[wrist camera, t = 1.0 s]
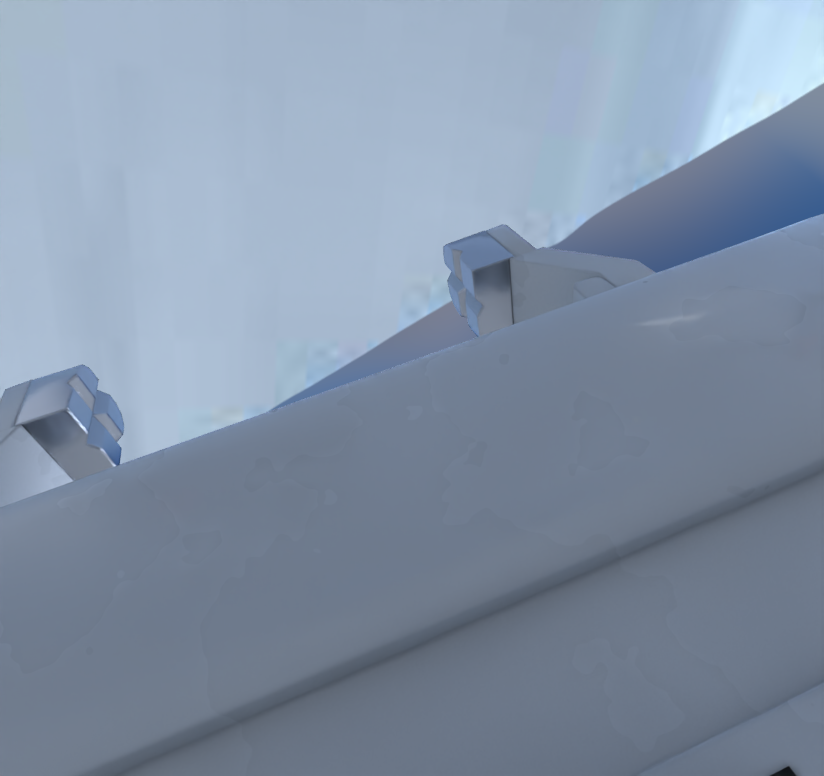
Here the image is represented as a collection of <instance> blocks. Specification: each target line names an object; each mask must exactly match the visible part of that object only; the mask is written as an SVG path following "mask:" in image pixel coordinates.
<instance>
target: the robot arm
mask: <svg viewBox="0 0 824 776" xmlns="http://www.w3.org/2000/svg"><path fill="white" fill-rule="evenodd" d="M443 255H444V262H445V264H446V266H447V267H448V268H449V269H450V270H451V274H450V276H449V278H448V280H447V281H448V287H449V292H450V295H451V298H452V301H453V304H454V306H455V308H456V310H457V311H458V313H459V314H460V315H461V316H462V317H466V318H468V325H469V327H470V328H471V329H472V331H473V332H474V333H475V334H476V335H477V338H474V339H471V340H468V341H465V342H463V343H460V344H457V345H454V346H452V347H449V348H446V349H443V350H440V351H437V352H435V353H432V354H429V355H426V356H423V357H421V358H418V359H415V360H412V361H409V362H407V363H404V364H401V365H398V366H396V367H393V368H390V369H387V370H385V371H382V372H379V373H376V374H373V375H370V376H368V377H365V378H362V379H360V380H357V381H354V382H351V383H348V384H345V385H342V386H339V387H337V388H334V389H332V390H328V391H325V392H323V393H320V394H317V395H314V396H311V397H309V398H306V399H303V400H300V401H297V402H294V403H292V404H289V405H286V406H283V407H280V408H278V409H275V410H272V411H269V412H266V413H264V414H261V415H258V416H255V417H252V418H250V419H247V420H244V421H241V422H238V423H235V424H233V425H230V426H227V427H224V428H221V429H219V430H216V431H213V432H210V433H207V434H205V435H202V436H199V437H196V438H193V439H191V440H188V441H185V442H182V443H179V444H176V445H174V446H171V447H168V448H165V449H162V450H160V451H157V452H154V453H151V454H148V455H146V456H143V457H140V458H137V459H134V460H131V461H129V462H126V463H123V464H120V456H121V449H122V448H121V447H120V446H119V444H118V443H117V441H118V440H119V439H120V438H121V436H122V435H123V432H124V423H123V419H122V414H121V412H120V410H119V408H118V406H117V404H116V402H115V401H114V400H113V398H112V397H111V396H110V395H109V394H107V393H104V392H102V391H99V390H97V387H98V380H99V379H98V378H97V377H96V376H95V374H94V373H93V372H92V371H91V369H90V368H89V367H87V366H85V365H83V364H82V365H79V366H76V367H72V368H69V369H66V370H63V371H60V372H56V373H53V374H50V375H47V376H44V377H40V378H37V379H35V380H29V381H26V382H24V383H21V384H18V385H15V386H13V387H10V388H8V389H5V391H4V394H3V396H2V398H1V401H0V776H824V214H822V215H818V216H815V217H812V218H809V219H806V220H803V221H801V222H798V223H795V224H793V225H790V226H787V227H785V228H782V229H779V230H776V231H774V232H771V233H768V234H765V235H762V236H760V237H757V238H754V239H752V240H749V241H746V242H743V243H740V244H738V245H734V246H732V247H729V248H726V249H724V250H720V251H718V252H715V253H712V254H709V255H706V256H703V257H701V258H698V259H695V260H692V261H690V262H687V263H684V264H681V265H679V266H675V267H673V268H670V269H667V270H664V271H662V272H659V273H655V272H654V271H652V270H651V269H649V268H648V267H646V266H645V265H643V264H641V263H640V262H639V261H637V260H630V259H622V258H616V257H609V256H601V255H594V254H587V253H580V252H573V251H565V250H558V249H551V248H544V247H542V248H539V249H536V248H535V247H533V246H532V245H531V244H530V243H528V242H527V241H526V240H525V239H523V238H522V237H521V236H520V235H518V234H517V233H516V232H515V231H513V230H512V229H511V228H510V227H508V226H507V225H503V224H502V225H499V226H497V227H494V228H492V229H489V230H486V231H482V232H479V233H477V234H474V235H471V236H468V237H465V238H463V239H460V240H457V241H454V242H451V243H449V244H446V245H445V246H443ZM119 464H120V465H119Z"/></svg>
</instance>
